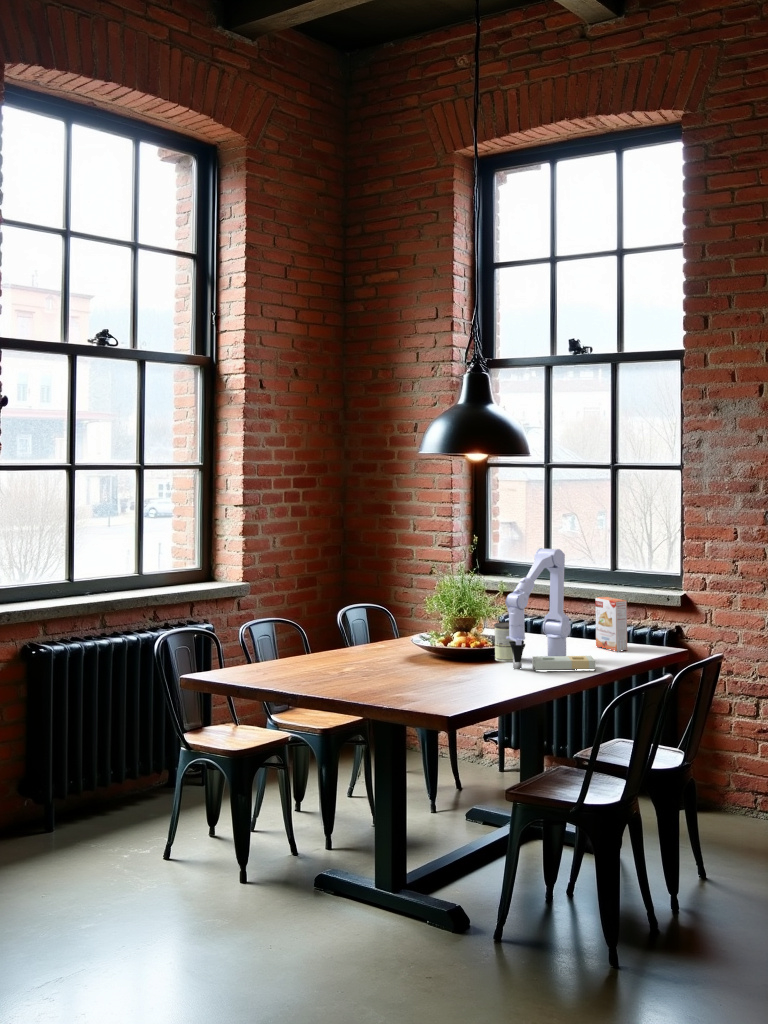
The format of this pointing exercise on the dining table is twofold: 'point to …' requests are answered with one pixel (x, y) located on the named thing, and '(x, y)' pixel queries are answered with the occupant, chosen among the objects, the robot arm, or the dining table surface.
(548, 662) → the hole block
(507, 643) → the coffee can
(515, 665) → the steel peg
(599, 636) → the cracker box
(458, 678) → the dining table surface
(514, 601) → the robot arm
